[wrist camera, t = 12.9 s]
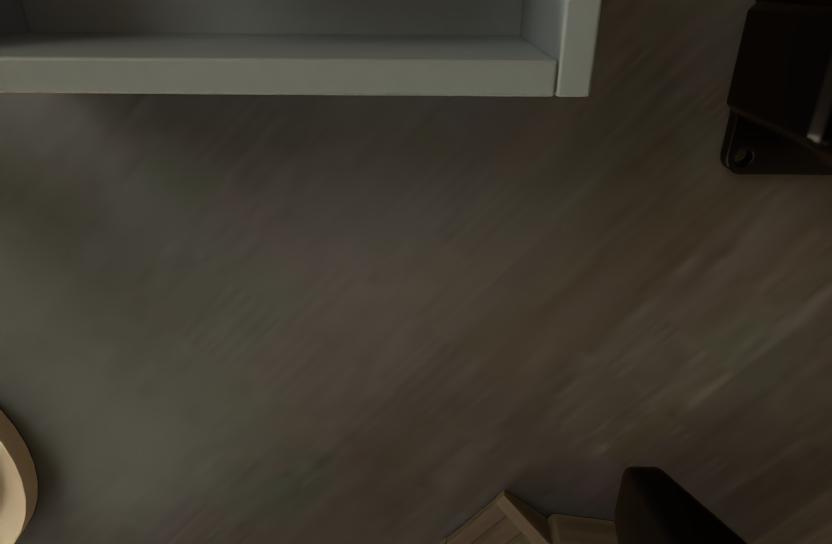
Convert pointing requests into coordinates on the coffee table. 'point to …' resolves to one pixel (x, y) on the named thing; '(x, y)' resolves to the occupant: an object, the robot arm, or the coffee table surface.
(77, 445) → the coffee table surface
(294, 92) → the bin
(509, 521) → the model
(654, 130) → the coffee table surface
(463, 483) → the coffee table surface
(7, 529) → the monster figurine
